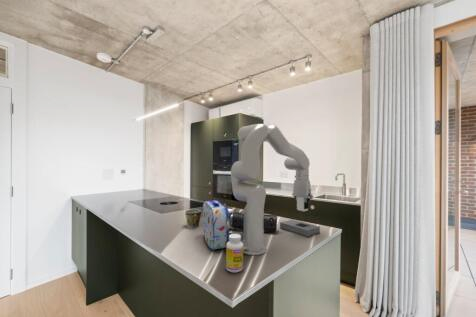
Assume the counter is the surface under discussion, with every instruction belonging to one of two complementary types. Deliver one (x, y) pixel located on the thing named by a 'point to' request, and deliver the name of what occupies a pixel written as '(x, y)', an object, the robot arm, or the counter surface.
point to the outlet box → (300, 228)
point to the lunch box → (215, 224)
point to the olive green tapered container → (193, 218)
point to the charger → (301, 204)
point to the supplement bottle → (234, 253)
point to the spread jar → (229, 218)
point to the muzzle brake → (269, 221)
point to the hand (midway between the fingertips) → (302, 207)
